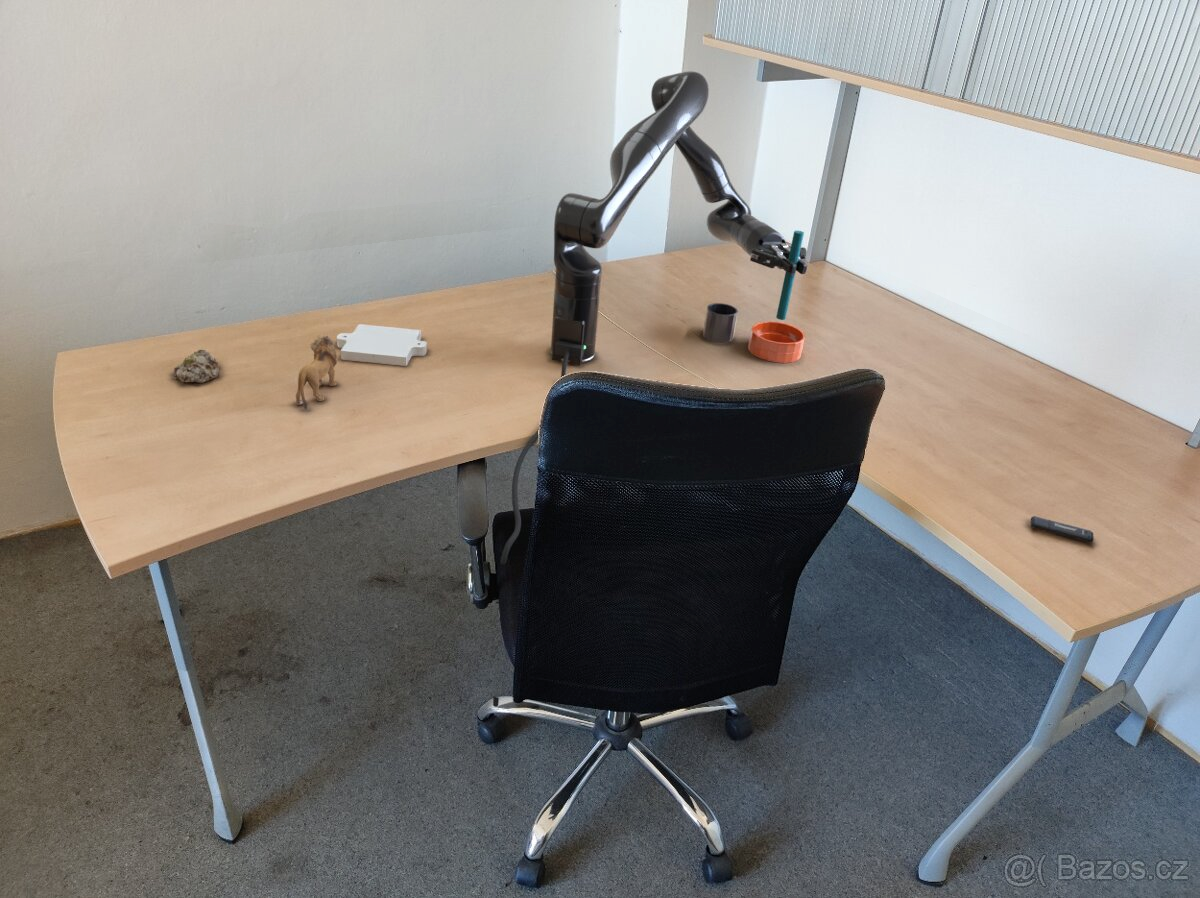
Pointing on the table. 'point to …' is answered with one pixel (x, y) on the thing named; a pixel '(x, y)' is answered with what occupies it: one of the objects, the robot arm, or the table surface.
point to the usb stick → (1062, 529)
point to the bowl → (776, 341)
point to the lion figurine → (317, 368)
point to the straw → (789, 278)
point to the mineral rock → (197, 368)
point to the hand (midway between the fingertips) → (799, 269)
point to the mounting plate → (381, 345)
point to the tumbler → (720, 322)
